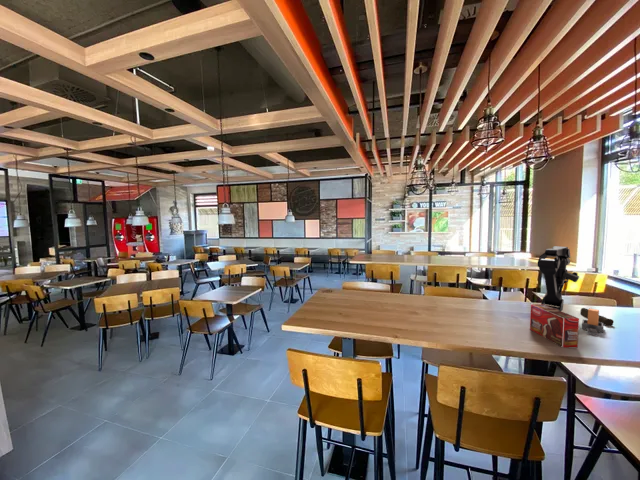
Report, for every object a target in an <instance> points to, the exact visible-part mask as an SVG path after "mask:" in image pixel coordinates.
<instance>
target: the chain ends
mask: <svg viewBox="0 0 640 480" xmlns="http://www.w3.org/2000/svg"><path fill="white" fill-rule="evenodd" d="M581 321H582V322H581V329H583V330H586V334H587V335H591V336H592V335H593V336H596V337H598V333H602V334H604V324H603V323H601V322H599V321H598V326H597V325H592V324H587V322H588V319H585V318H584V319H583V318H582V320H581Z"/></svg>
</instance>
